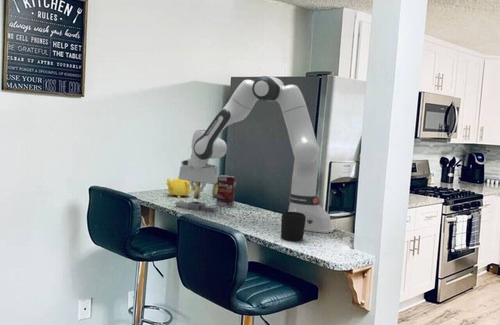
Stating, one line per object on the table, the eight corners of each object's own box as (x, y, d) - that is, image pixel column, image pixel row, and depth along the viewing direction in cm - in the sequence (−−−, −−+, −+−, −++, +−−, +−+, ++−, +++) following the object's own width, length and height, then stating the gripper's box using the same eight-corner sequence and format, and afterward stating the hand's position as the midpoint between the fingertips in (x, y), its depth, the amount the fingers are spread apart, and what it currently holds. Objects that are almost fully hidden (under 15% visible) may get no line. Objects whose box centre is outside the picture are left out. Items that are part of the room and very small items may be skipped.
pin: (200, 198, 243) (202, 182, 243) (197, 199, 240) (198, 182, 240) (195, 197, 244) (196, 181, 244) (192, 198, 242) (193, 182, 241)
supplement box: (215, 205, 256) (218, 175, 255) (218, 204, 261) (220, 174, 260) (231, 207, 254) (234, 177, 253) (234, 206, 259) (236, 176, 258)
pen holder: (308, 240, 194) (310, 215, 194) (293, 243, 188) (296, 217, 187) (289, 235, 201) (292, 210, 200) (275, 237, 194) (277, 212, 193)
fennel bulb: (223, 197, 286) (225, 177, 285) (220, 198, 281) (221, 177, 280) (214, 196, 288) (215, 176, 287) (211, 197, 283) (212, 176, 282)
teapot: (165, 193, 285) (167, 174, 284) (189, 194, 287) (191, 175, 286) (165, 197, 271) (166, 177, 270) (190, 198, 273) (191, 178, 272)
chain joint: (218, 211, 241) (219, 205, 241) (212, 213, 235) (212, 206, 235) (181, 205, 251) (181, 199, 250) (173, 206, 245) (174, 200, 245)
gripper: (221, 165, 240) (218, 193, 241) (185, 160, 248) (183, 187, 249) (214, 165, 234) (212, 194, 235) (178, 161, 243) (176, 188, 244)
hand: (197, 191), depth 242 cm, fingers closed on pin, 3 cm apart
